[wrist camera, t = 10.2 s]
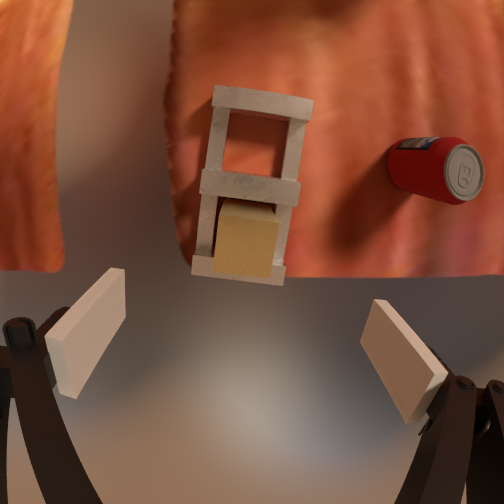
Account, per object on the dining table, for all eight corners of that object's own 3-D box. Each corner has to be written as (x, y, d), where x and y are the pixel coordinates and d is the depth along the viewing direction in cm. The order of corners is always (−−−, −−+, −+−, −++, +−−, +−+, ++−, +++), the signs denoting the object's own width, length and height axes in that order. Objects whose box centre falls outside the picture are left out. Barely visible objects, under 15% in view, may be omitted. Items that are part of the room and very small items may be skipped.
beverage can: (431, 147, 34) (493, 151, 22) (422, 196, 35) (481, 215, 24) (389, 131, 33) (446, 126, 21) (379, 183, 35) (433, 198, 23)
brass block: (224, 198, 35) (219, 214, 25) (268, 204, 35) (279, 222, 26) (219, 240, 36) (212, 271, 27) (262, 246, 37) (269, 278, 27)
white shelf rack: (217, 92, 31) (214, 84, 27) (305, 106, 32) (313, 100, 28) (195, 262, 37) (191, 274, 33) (278, 272, 38) (282, 285, 34)
